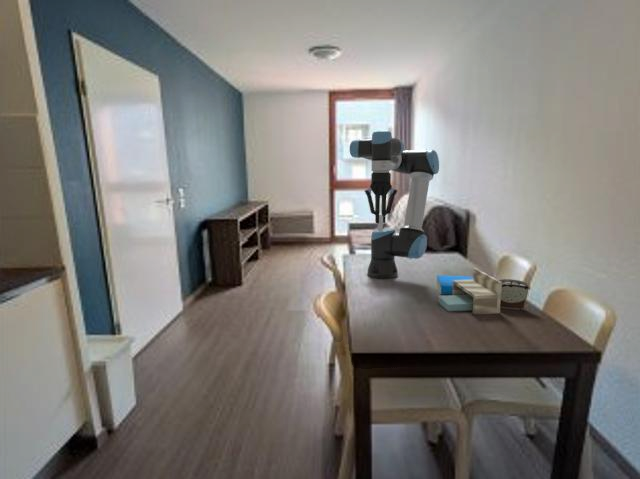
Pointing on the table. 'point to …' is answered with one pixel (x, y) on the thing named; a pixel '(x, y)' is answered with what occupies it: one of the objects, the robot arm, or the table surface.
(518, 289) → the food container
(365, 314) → the table surface
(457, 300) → the teal square tile
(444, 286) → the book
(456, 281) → the shelf
